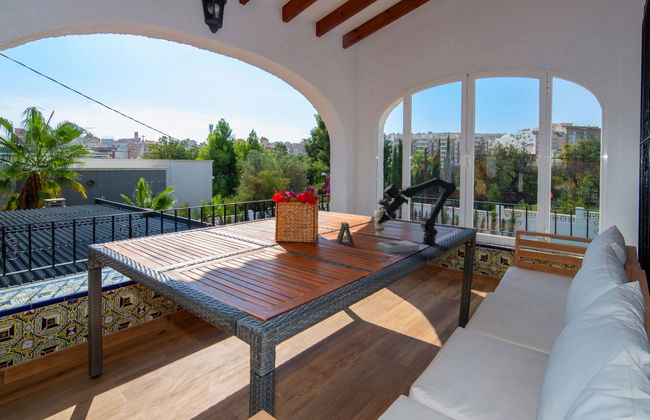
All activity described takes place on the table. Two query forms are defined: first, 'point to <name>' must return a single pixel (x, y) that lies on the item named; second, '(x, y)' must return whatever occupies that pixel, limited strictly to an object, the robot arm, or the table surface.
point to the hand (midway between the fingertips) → (376, 222)
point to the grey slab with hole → (397, 246)
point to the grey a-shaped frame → (341, 233)
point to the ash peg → (377, 226)
